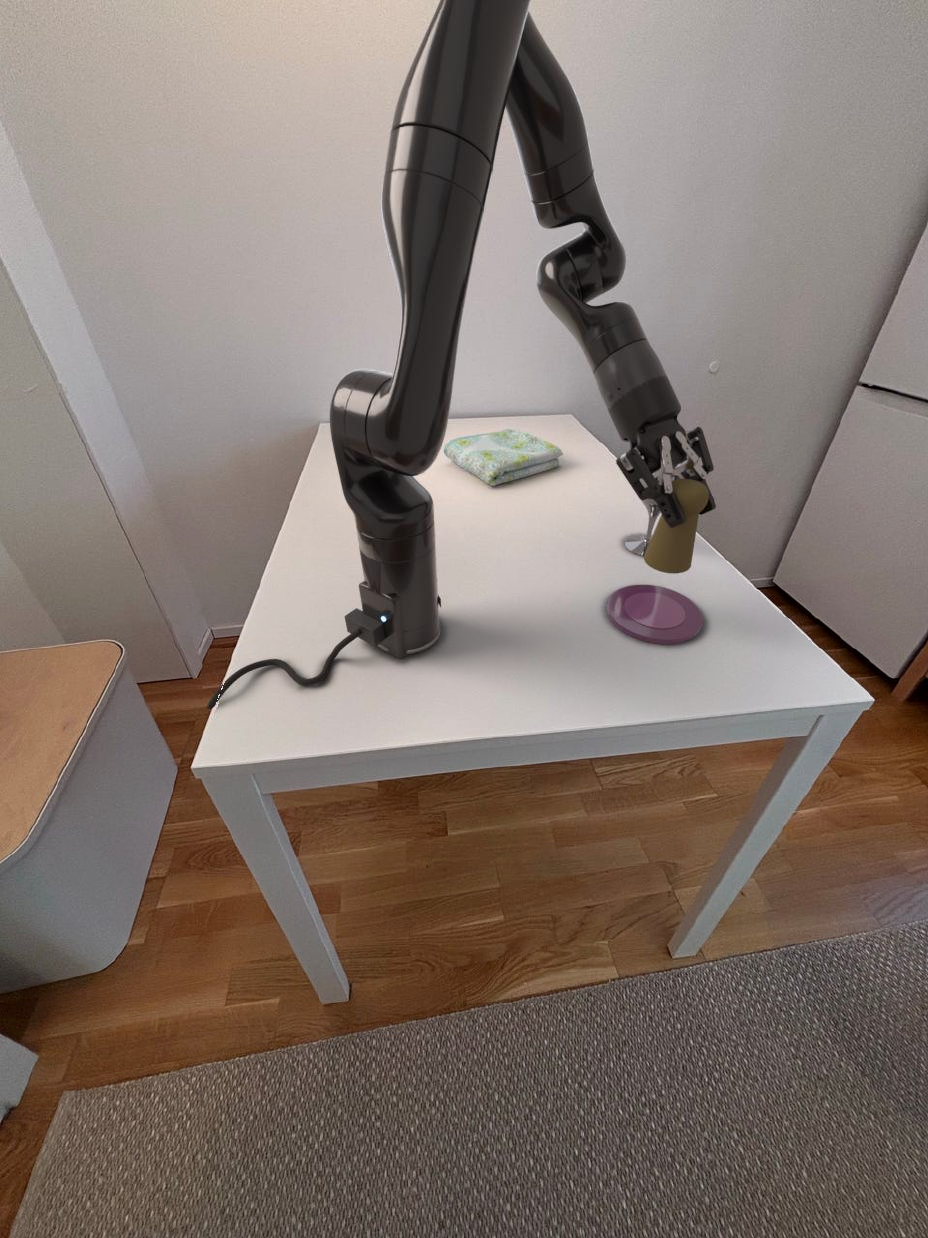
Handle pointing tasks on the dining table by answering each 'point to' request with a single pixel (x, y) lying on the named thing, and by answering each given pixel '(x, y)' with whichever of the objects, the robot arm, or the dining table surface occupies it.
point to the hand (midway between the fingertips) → (693, 517)
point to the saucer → (654, 614)
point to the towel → (503, 455)
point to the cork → (678, 530)
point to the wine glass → (641, 542)
